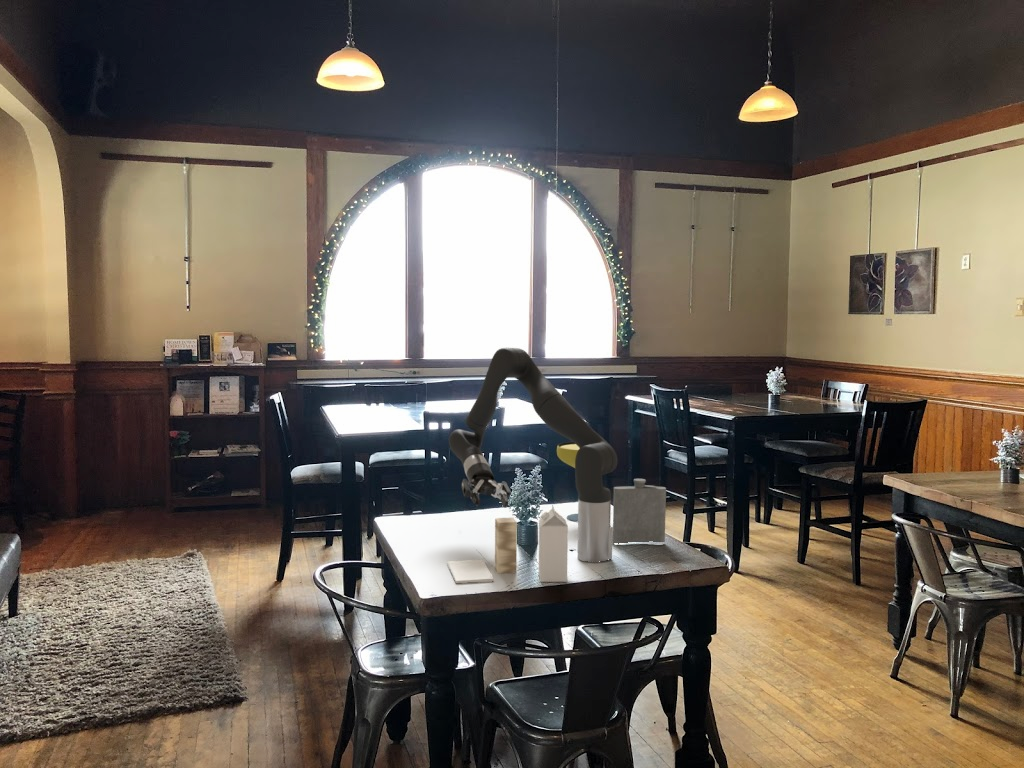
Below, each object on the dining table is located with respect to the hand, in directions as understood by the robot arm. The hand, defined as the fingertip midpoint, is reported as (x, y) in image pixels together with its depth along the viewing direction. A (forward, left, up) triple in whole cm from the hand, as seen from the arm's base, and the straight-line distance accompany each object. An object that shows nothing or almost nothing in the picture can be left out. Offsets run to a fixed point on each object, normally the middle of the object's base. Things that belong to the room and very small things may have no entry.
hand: (492, 504), depth 247 cm
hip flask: (-46, -2, -15) cm, 48 cm away
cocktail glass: (-38, -35, -15) cm, 54 cm away
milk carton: (-12, +25, -15) cm, 31 cm away
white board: (+9, +16, -15) cm, 24 cm away
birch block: (-1, +16, -15) cm, 21 cm away
